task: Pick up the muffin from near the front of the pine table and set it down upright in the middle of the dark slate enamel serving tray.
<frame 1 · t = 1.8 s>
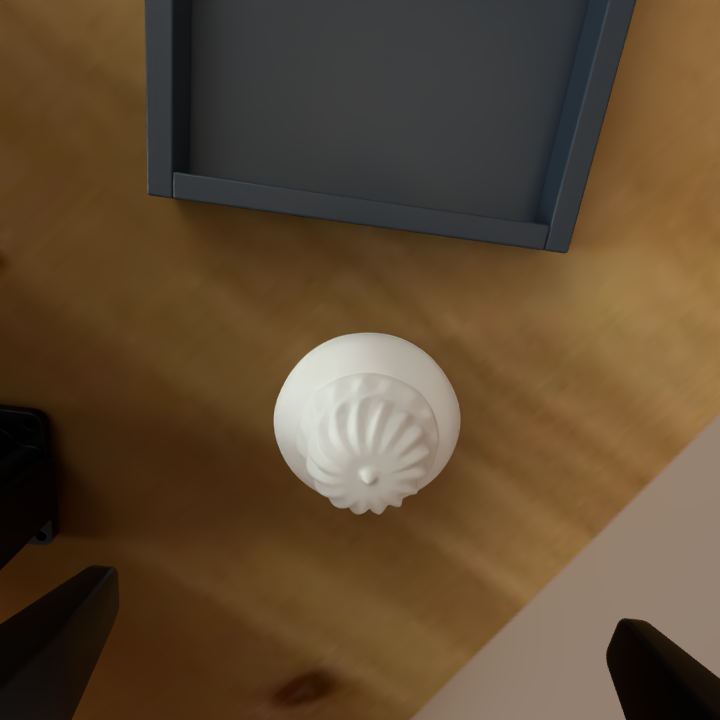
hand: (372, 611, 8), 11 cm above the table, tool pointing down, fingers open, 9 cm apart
muffin: (365, 382, 19), on the table
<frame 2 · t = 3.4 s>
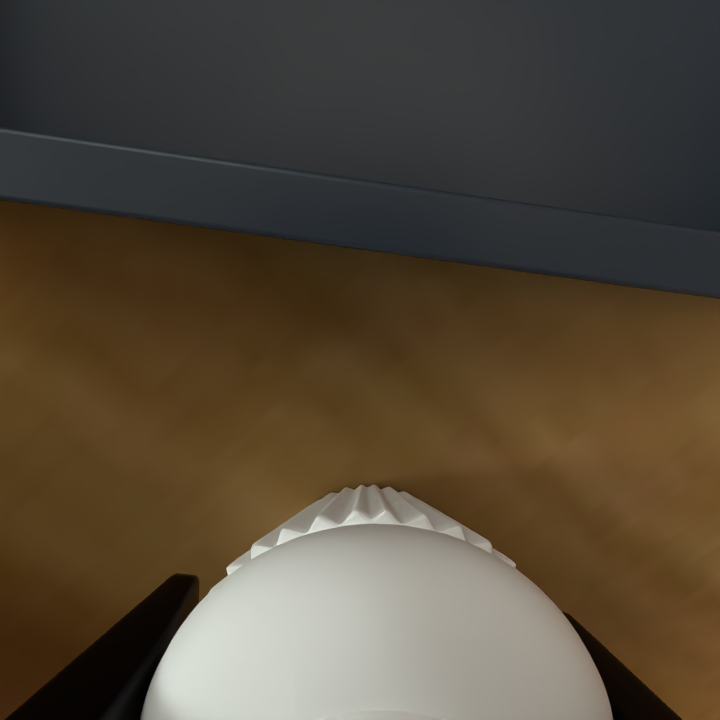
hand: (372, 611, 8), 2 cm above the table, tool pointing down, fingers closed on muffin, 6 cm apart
muffin: (368, 542, 10), on the table, touching gripper
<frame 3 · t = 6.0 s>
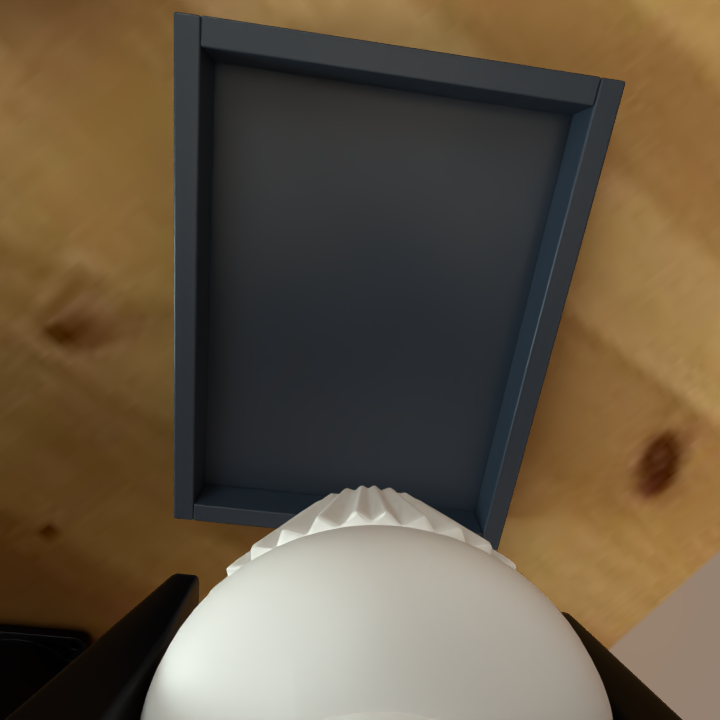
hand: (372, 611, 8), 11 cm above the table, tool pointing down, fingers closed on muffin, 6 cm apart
muffin: (369, 543, 10), point 10 cm above the table, touching gripper
tray: (365, 319, 18), on the table
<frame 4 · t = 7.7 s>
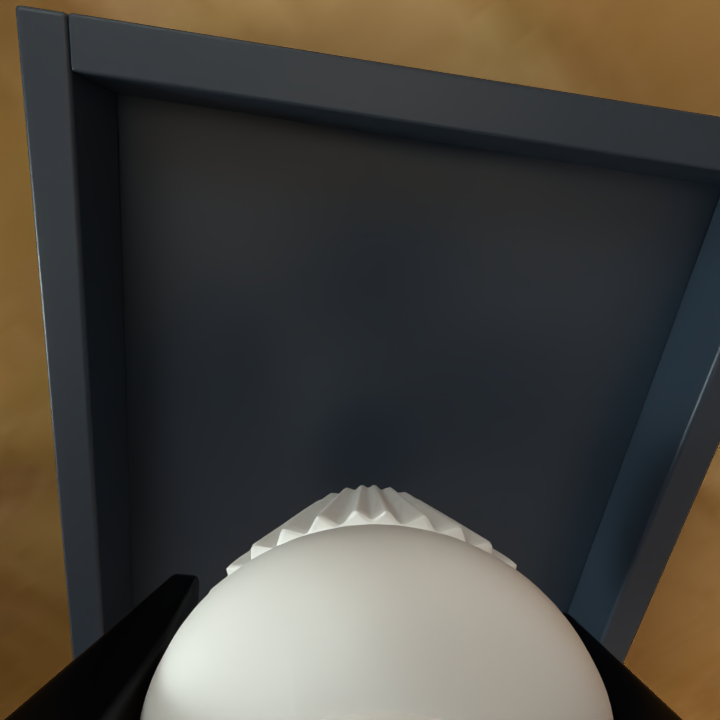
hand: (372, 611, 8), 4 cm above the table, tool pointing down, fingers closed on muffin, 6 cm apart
muffin: (369, 543, 10), point 2 cm above the table, touching gripper
tray: (370, 475, 12), on the table
when the fingers open (2 cm above the table, at t = 8.9 s): muffin stays where it is, resting on tray.
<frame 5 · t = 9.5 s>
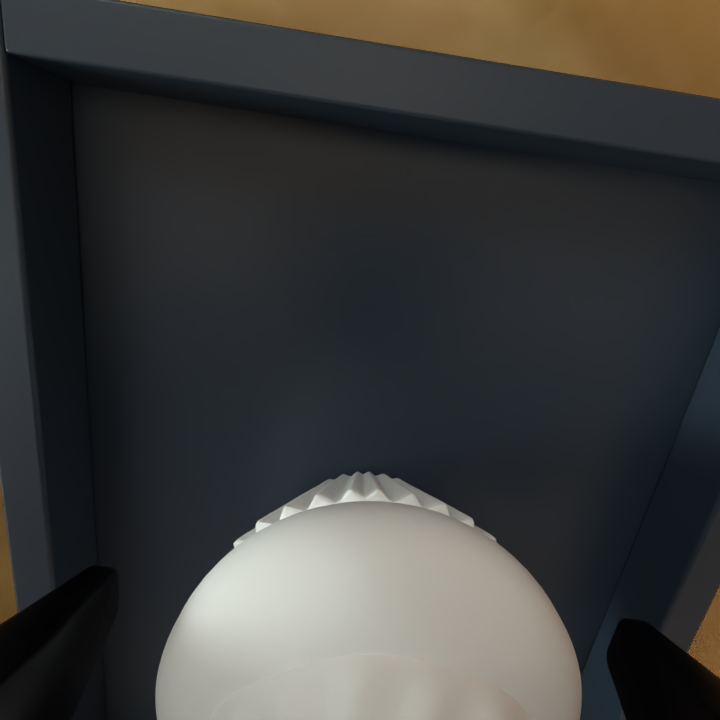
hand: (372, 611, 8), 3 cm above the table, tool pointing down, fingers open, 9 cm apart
muffin: (364, 527, 10), resting on tray
tray: (367, 512, 11), on the table
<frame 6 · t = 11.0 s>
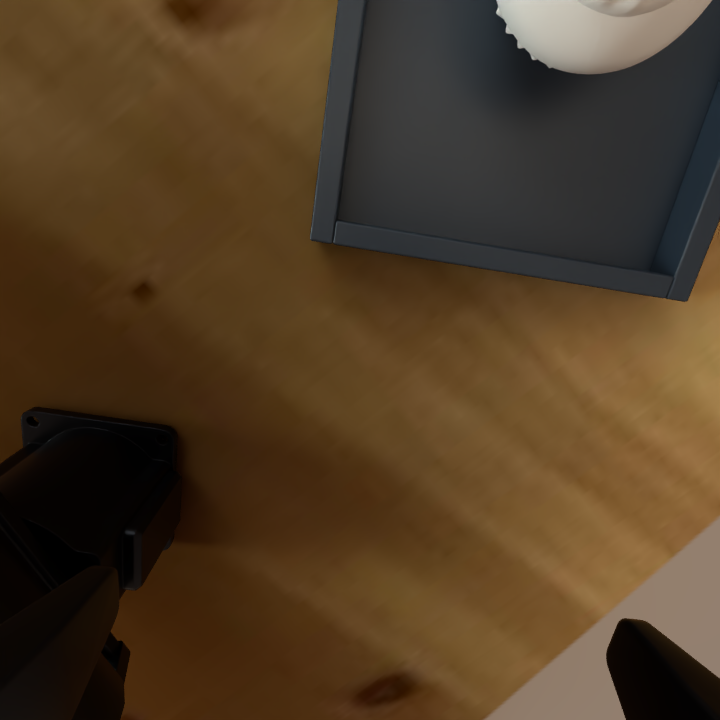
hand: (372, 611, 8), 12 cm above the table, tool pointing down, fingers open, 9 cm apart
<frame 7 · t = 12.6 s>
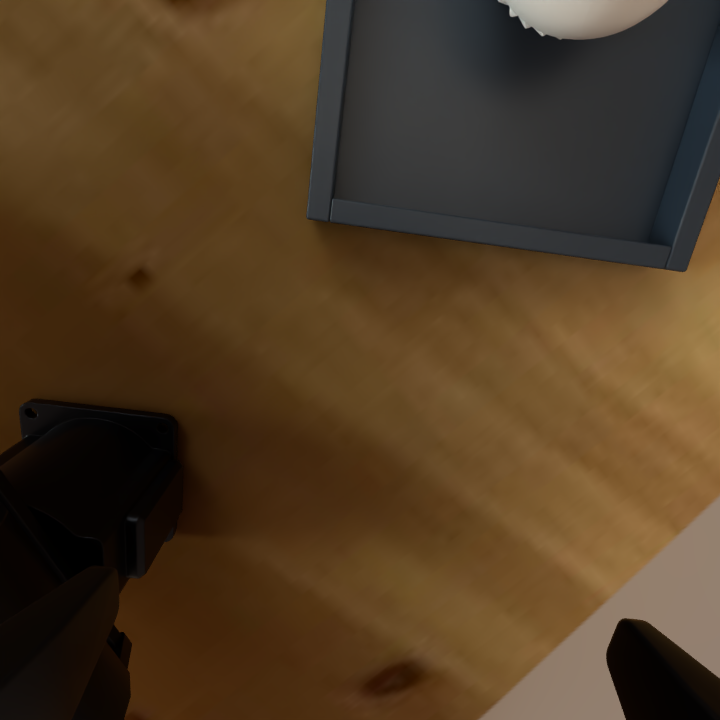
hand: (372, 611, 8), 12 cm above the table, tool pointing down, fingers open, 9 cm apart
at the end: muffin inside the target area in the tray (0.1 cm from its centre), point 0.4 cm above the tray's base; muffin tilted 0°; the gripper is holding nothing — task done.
